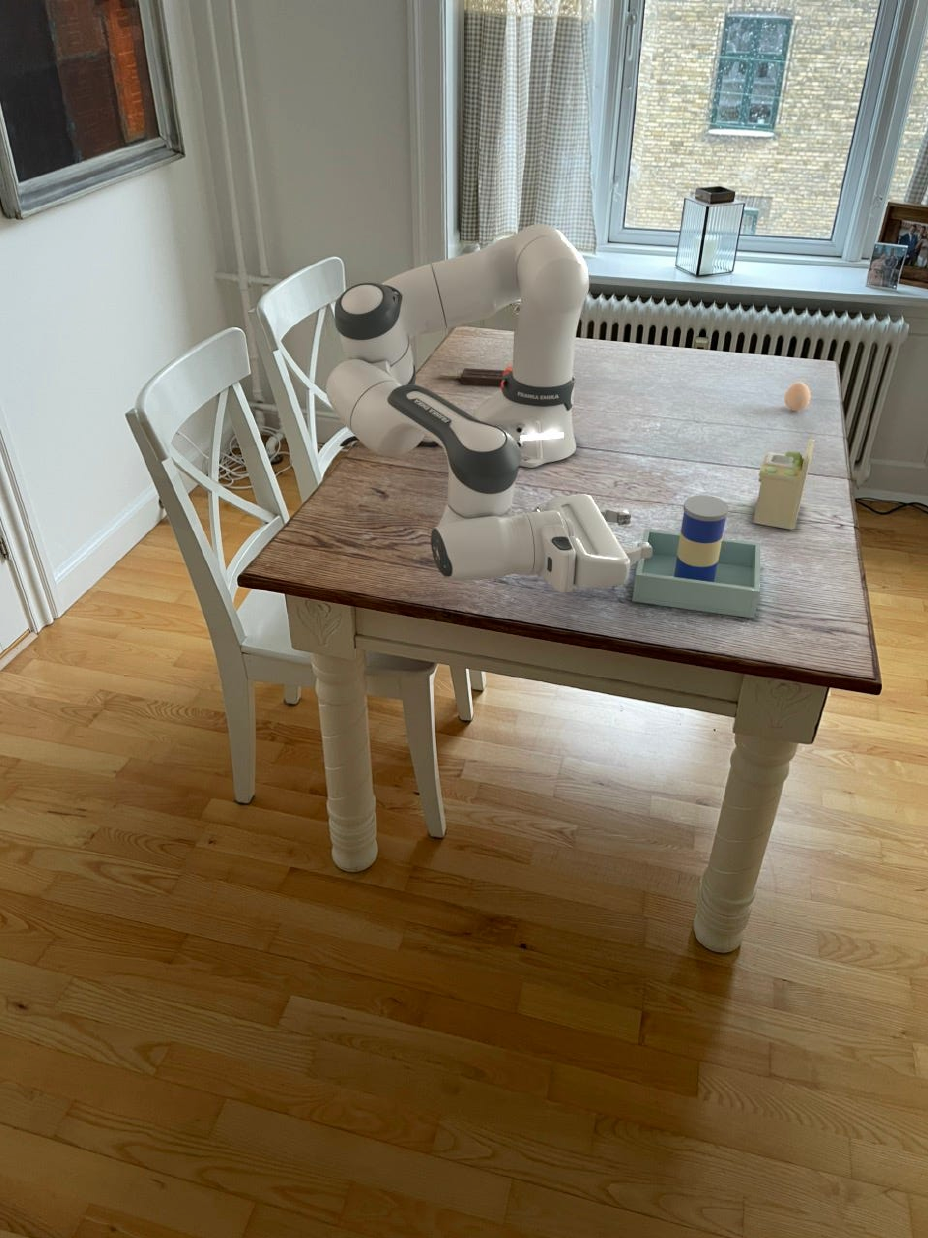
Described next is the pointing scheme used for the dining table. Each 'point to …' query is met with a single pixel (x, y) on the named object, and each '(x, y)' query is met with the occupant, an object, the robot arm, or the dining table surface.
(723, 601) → the green tray
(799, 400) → the egg
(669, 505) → the dining table surface
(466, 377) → the ice cream bar
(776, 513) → the toy sink
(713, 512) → the snack tube
